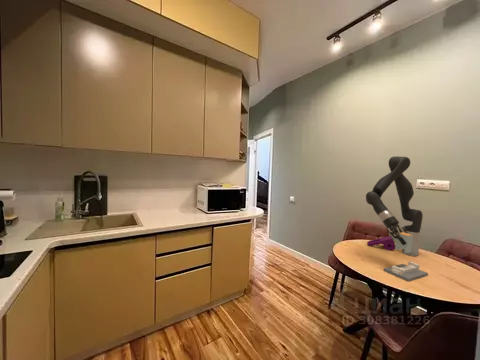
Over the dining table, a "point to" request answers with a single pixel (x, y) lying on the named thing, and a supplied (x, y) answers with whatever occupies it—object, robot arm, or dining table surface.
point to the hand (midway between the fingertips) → (407, 243)
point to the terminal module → (408, 240)
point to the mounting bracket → (386, 242)
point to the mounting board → (407, 275)
